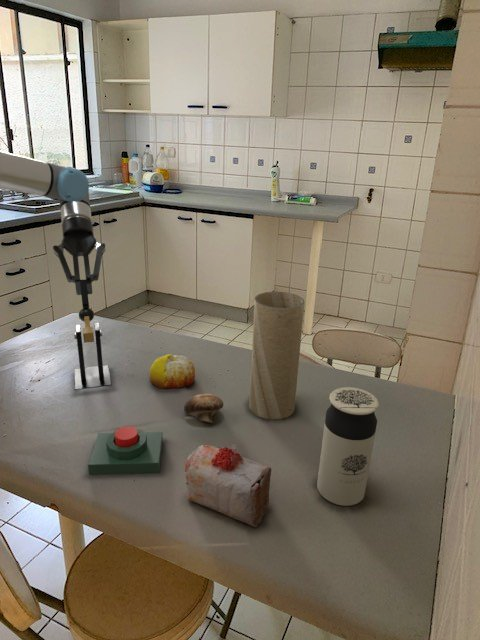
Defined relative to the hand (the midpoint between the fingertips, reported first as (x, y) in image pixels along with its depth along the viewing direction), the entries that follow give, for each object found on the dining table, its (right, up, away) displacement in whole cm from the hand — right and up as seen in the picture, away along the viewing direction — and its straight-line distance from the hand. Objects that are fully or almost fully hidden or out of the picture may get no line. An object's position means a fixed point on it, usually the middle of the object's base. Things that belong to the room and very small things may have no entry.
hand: (85, 305), depth 113 cm
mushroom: (+30, -24, -16) cm, 42 cm away
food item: (+35, -33, -37) cm, 61 cm away
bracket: (+3, -18, -4) cm, 19 cm away
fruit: (+22, -18, -3) cm, 29 cm away
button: (+17, -25, -30) cm, 43 cm away
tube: (+45, -23, -11) cm, 51 cm away
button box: (+17, -29, -28) cm, 44 cm away
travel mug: (+55, -33, -34) cm, 72 cm away
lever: (+1, -6, -3) cm, 7 cm away
